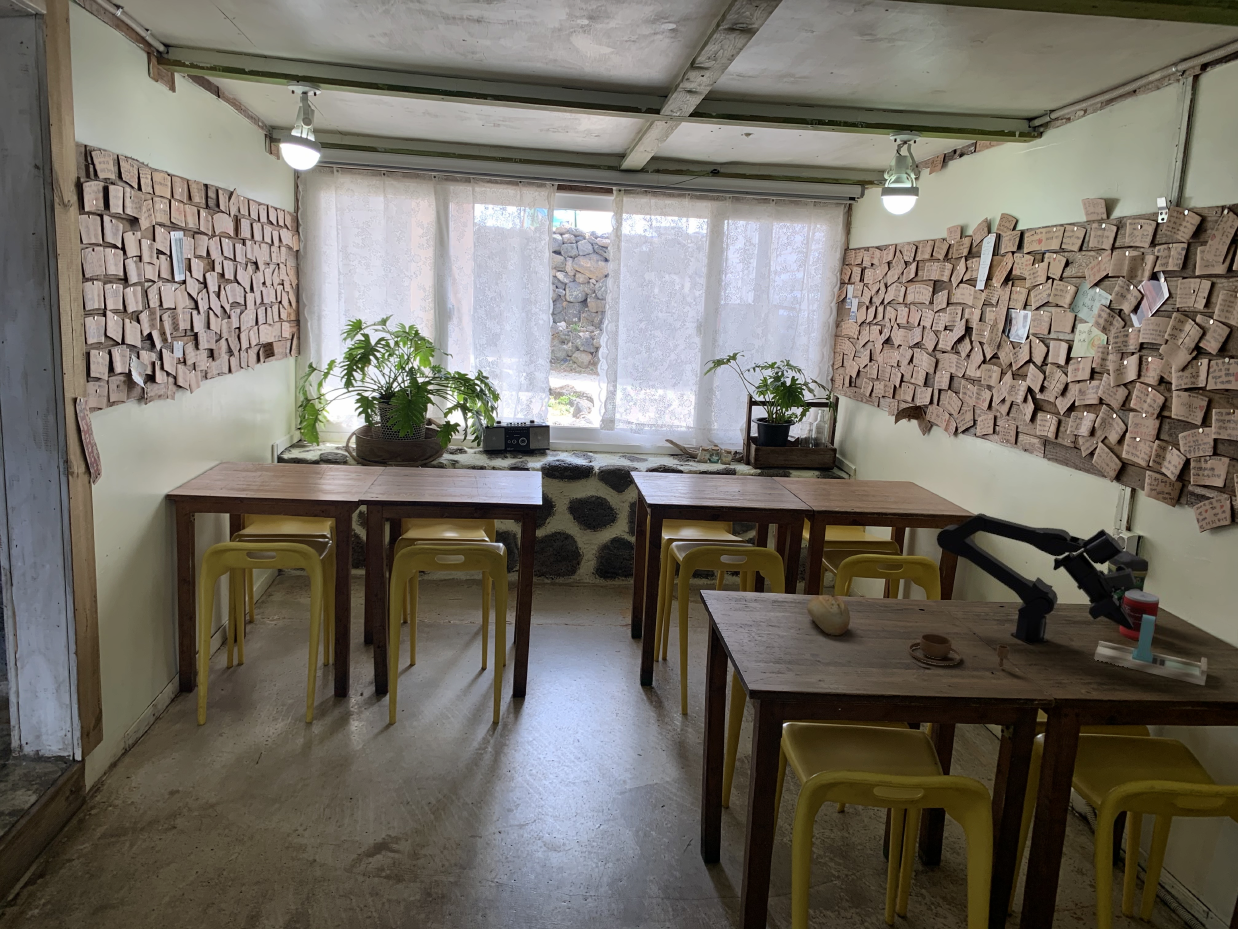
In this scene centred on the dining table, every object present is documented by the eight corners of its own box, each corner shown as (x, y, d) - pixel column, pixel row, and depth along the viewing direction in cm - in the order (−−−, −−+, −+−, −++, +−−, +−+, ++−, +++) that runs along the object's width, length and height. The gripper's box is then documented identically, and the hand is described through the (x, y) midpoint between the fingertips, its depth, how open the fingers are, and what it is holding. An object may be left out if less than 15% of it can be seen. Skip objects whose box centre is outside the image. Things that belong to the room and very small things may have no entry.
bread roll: (832, 615, 227) (834, 587, 225) (858, 637, 212) (861, 606, 211) (798, 616, 225) (800, 588, 223) (822, 638, 210) (824, 608, 209)
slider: (1131, 660, 200) (1138, 620, 199) (1133, 652, 205) (1139, 613, 203) (1151, 664, 198) (1158, 624, 196) (1152, 656, 203) (1159, 617, 201)
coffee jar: (1094, 611, 237) (1104, 547, 234) (1122, 612, 238) (1132, 548, 234) (1116, 624, 228) (1126, 558, 224) (1144, 625, 228) (1155, 559, 225)
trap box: (1094, 659, 204) (1096, 646, 203) (1098, 648, 211) (1100, 635, 210) (1204, 685, 192) (1207, 671, 191) (1204, 672, 199) (1207, 658, 198)
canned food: (1148, 632, 223) (1155, 592, 221) (1156, 643, 216) (1163, 602, 214) (1115, 628, 226) (1121, 588, 223) (1122, 638, 218) (1129, 598, 216)
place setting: (933, 642, 212) (936, 619, 211) (1010, 671, 197) (1013, 647, 196) (891, 657, 202) (893, 634, 201) (968, 689, 186) (971, 664, 185)
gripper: (1112, 565, 194) (1161, 622, 190) (1119, 548, 210) (1164, 600, 206) (1069, 591, 200) (1116, 647, 196) (1079, 572, 215) (1122, 623, 211)
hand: (1131, 628), depth 202 cm, fingers closed
